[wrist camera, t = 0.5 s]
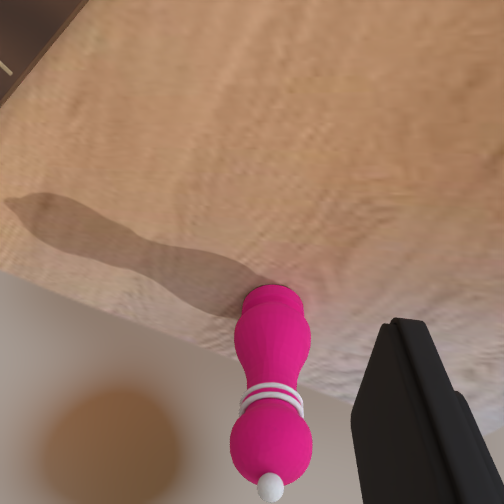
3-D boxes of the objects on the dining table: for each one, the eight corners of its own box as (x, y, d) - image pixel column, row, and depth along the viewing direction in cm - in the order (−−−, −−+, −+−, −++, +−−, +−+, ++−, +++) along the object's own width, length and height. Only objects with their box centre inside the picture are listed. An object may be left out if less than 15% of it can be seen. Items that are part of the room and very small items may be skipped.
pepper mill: (223, 308, 47) (192, 498, 30) (271, 266, 44) (268, 450, 27) (273, 346, 49) (271, 542, 32) (322, 308, 46) (349, 502, 29)
